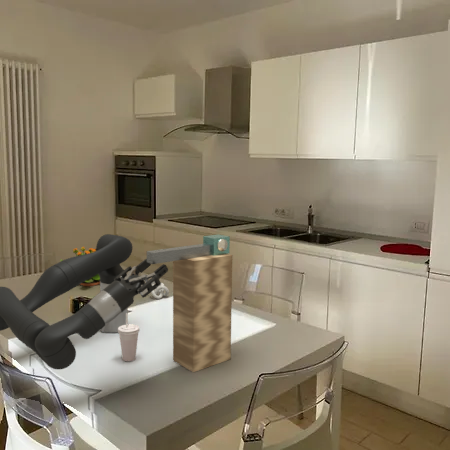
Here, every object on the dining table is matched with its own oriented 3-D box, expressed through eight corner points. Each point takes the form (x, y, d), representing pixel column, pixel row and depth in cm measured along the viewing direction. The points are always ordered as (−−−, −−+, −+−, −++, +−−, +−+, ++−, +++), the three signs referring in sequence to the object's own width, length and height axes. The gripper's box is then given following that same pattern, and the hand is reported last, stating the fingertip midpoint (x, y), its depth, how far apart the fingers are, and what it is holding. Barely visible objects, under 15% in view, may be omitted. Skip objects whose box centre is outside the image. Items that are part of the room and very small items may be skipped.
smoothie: (119, 354, 145) (119, 310, 143) (140, 354, 146) (140, 310, 144) (116, 363, 139) (116, 317, 137) (138, 363, 140) (138, 317, 138)
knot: (171, 295, 209) (171, 282, 208) (166, 300, 201) (166, 287, 200) (155, 294, 210) (154, 281, 209) (149, 299, 202) (148, 286, 201)
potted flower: (106, 291, 212) (105, 253, 210) (53, 290, 213) (52, 252, 210) (119, 277, 237) (119, 243, 235) (72, 277, 237) (71, 242, 235)
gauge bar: (155, 265, 124) (155, 246, 123) (144, 261, 128) (144, 243, 127) (230, 253, 141) (230, 236, 140) (218, 250, 145) (218, 234, 144)
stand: (193, 372, 134) (194, 261, 130) (173, 360, 142) (173, 255, 137) (230, 359, 143) (232, 255, 139) (209, 348, 151) (210, 249, 146)
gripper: (117, 298, 113) (166, 257, 121) (90, 285, 124) (137, 248, 132) (131, 321, 116) (178, 280, 124) (104, 307, 127) (149, 269, 135)
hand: (157, 264), depth 128 cm, fingers open, 8 cm apart
